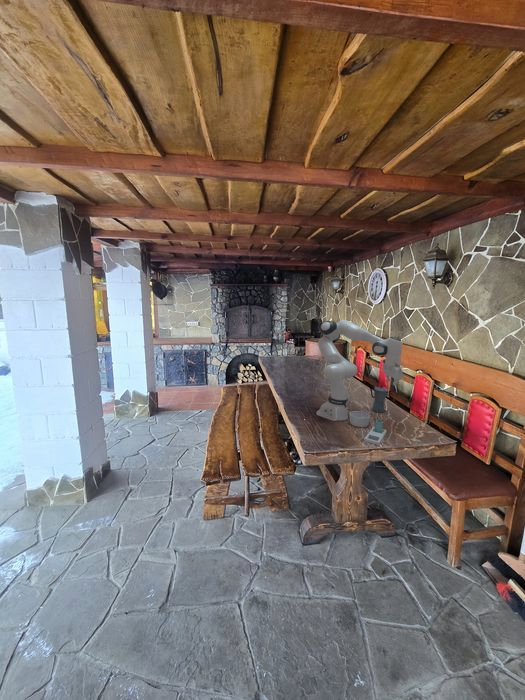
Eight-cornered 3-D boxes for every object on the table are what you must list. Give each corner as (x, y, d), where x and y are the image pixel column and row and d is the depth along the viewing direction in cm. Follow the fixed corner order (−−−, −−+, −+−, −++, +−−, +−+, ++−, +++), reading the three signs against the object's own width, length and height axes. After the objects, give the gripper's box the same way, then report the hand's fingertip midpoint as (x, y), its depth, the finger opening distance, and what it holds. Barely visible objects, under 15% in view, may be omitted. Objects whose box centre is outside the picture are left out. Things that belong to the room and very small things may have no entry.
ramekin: (353, 418, 197) (353, 409, 196) (372, 423, 189) (372, 414, 187) (345, 424, 187) (346, 414, 186) (365, 430, 178) (366, 420, 177)
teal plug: (375, 434, 173) (376, 420, 171) (374, 431, 176) (375, 418, 175) (381, 434, 172) (383, 421, 170) (380, 432, 175) (381, 418, 174)
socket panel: (364, 441, 163) (364, 438, 163) (373, 429, 179) (373, 426, 179) (378, 445, 159) (379, 442, 158) (386, 433, 175) (386, 430, 175)
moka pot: (384, 415, 204) (386, 388, 201) (365, 408, 216) (366, 383, 212) (390, 412, 210) (392, 386, 207) (371, 406, 222) (373, 381, 218)
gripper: (406, 366, 169) (404, 387, 171) (390, 359, 189) (389, 379, 192) (395, 365, 169) (393, 387, 171) (381, 359, 189) (380, 379, 192)
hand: (391, 383), depth 182 cm, fingers open, 8 cm apart
